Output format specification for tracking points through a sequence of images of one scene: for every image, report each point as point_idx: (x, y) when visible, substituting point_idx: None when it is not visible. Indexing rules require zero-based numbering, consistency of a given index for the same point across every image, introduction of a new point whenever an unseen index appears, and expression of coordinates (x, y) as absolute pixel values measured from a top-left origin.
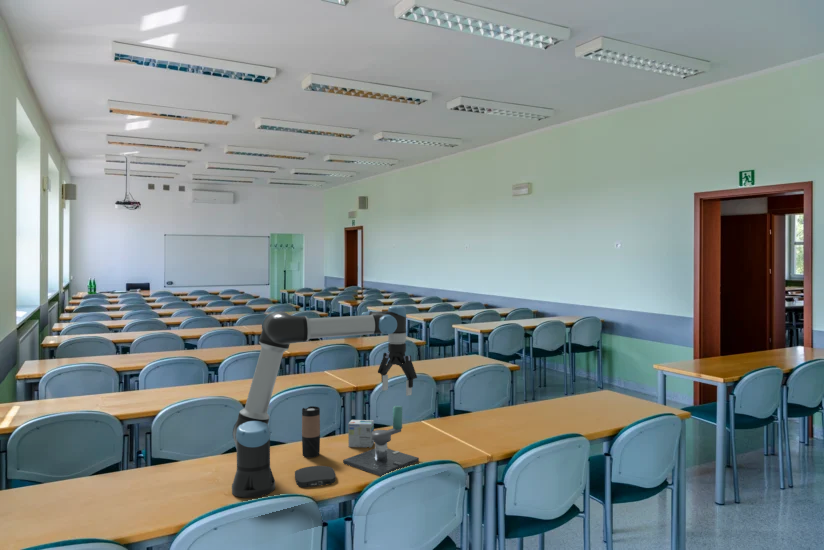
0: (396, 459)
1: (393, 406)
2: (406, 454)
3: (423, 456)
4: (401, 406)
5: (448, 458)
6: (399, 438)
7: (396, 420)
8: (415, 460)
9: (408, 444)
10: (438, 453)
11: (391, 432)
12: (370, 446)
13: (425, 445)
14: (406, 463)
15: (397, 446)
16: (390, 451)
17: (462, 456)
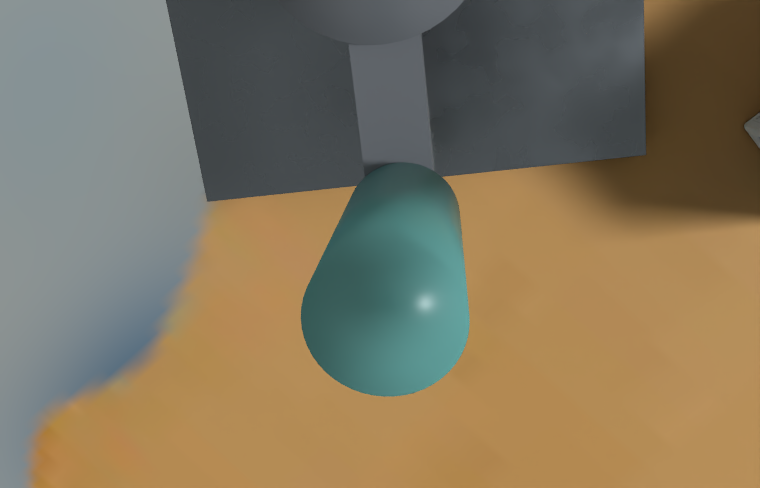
0: (290, 37)
1: (460, 293)
2: (329, 182)
3: (276, 291)
4: (362, 386)
5: (134, 382)
6: (722, 442)
7: (359, 199)
8: (202, 159)
9: (559, 394)
10: (254, 405)
11: (353, 75)
12: (753, 121)
13: (447, 460)
14: (176, 47)
15: (591, 305)
16: (478, 132)
17: (109, 468)
